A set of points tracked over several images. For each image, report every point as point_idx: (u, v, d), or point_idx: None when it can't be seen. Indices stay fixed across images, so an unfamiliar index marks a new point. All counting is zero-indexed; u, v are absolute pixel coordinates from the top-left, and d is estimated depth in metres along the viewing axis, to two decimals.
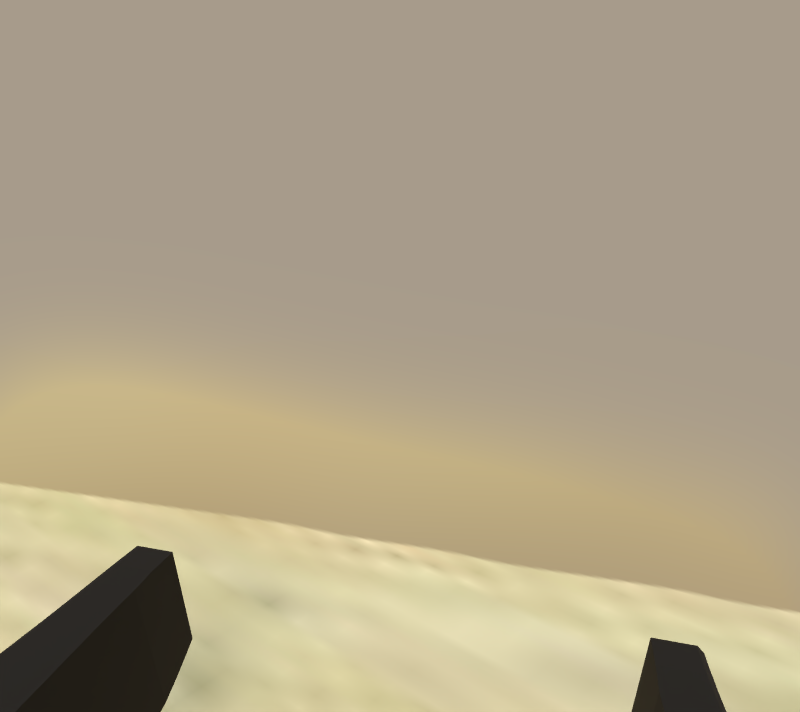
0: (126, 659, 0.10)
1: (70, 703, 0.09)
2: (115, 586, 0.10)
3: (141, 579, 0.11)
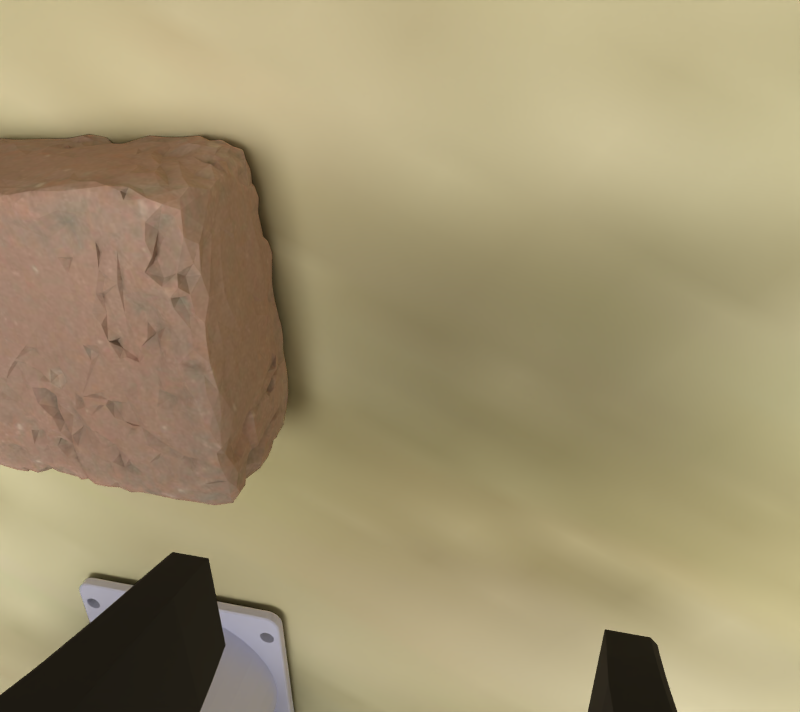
0: (165, 667, 0.10)
1: None
2: (154, 594, 0.10)
3: (179, 586, 0.10)
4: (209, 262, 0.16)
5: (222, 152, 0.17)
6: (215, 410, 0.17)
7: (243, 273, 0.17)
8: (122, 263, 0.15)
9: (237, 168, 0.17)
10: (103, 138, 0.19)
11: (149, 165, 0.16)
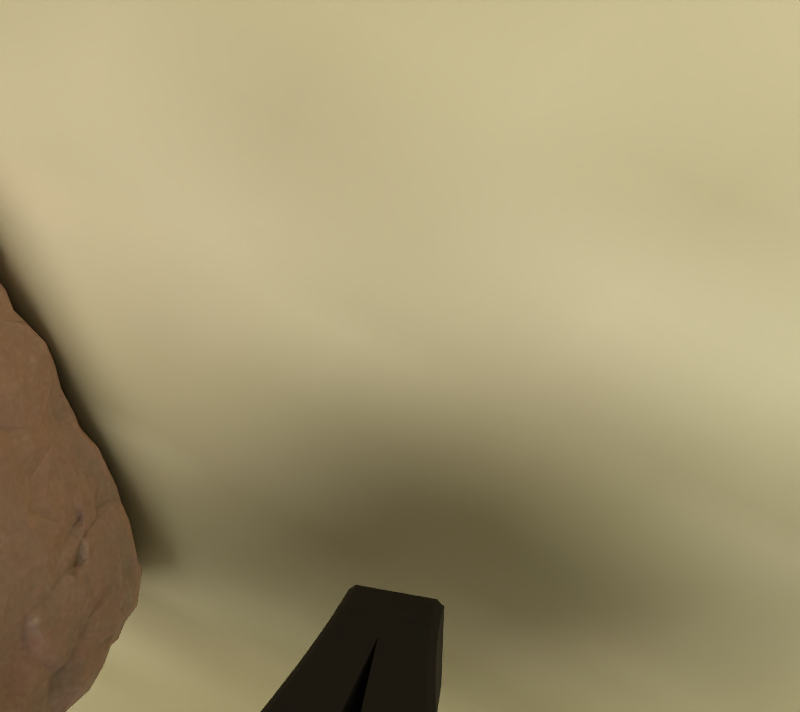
0: None
1: None
2: (356, 632, 0.10)
3: (378, 624, 0.10)
4: None
5: None
6: None
7: None
8: None
9: None
10: None
11: None
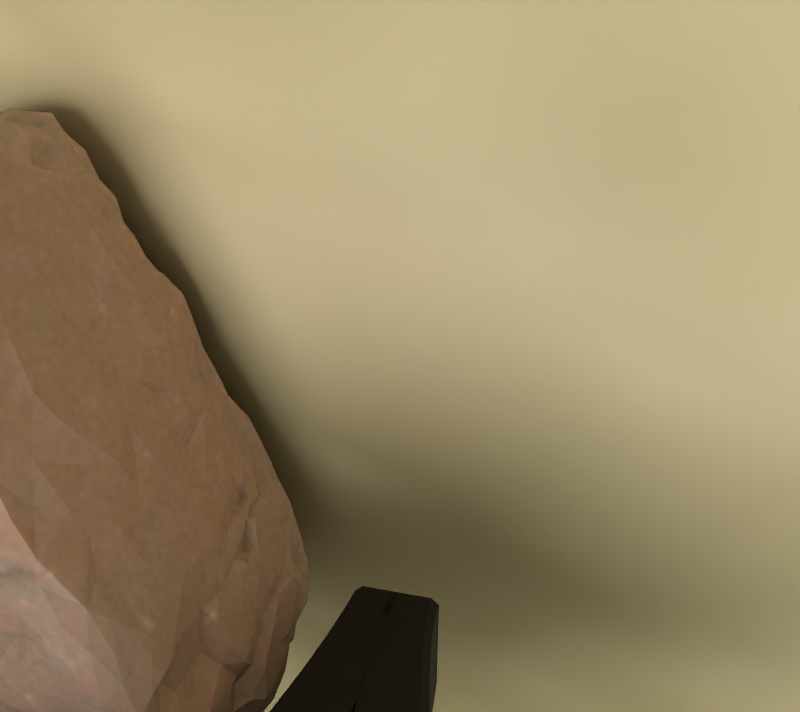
0: None
1: None
2: (362, 634, 0.10)
3: (384, 625, 0.10)
4: None
5: None
6: (93, 648, 0.08)
7: (99, 344, 0.08)
8: None
9: (27, 142, 0.08)
10: None
11: None
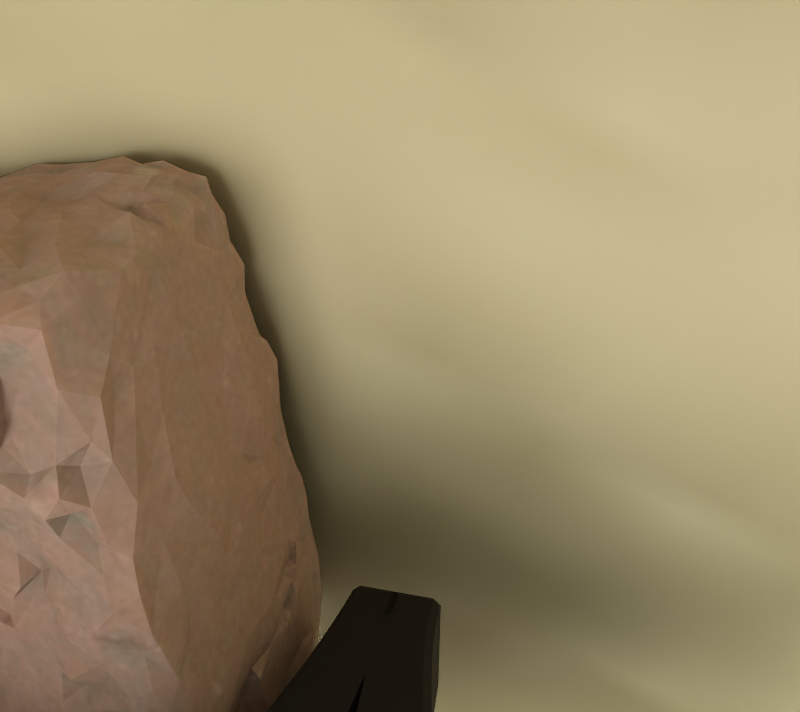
0: None
1: None
2: (360, 633, 0.10)
3: (382, 624, 0.10)
4: (132, 430, 0.07)
5: (161, 185, 0.08)
6: None
7: (220, 419, 0.09)
8: None
9: (191, 215, 0.08)
10: None
11: None
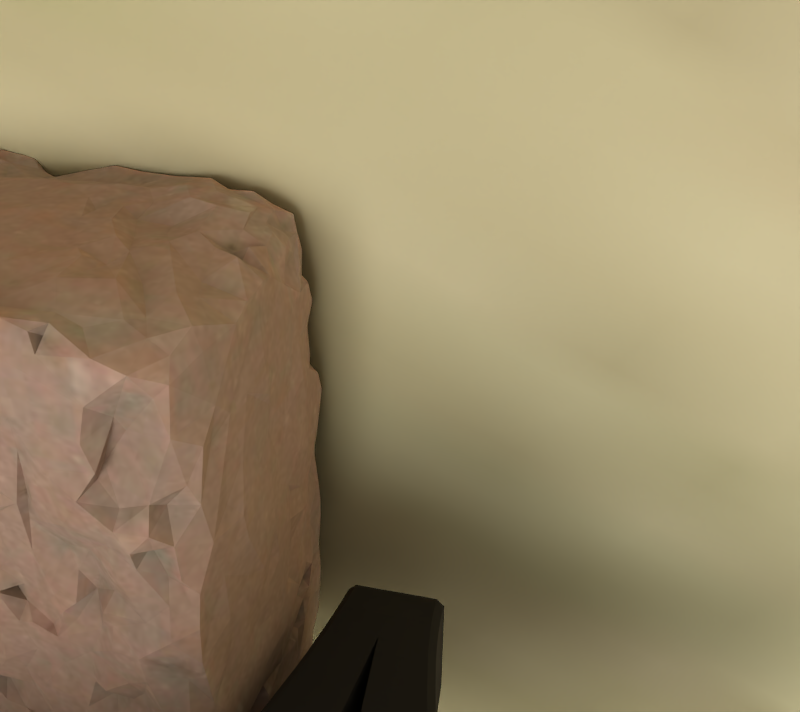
0: None
1: None
2: (356, 632, 0.10)
3: (378, 624, 0.10)
4: (220, 474, 0.07)
5: (257, 223, 0.09)
6: None
7: (279, 455, 0.09)
8: (29, 472, 0.07)
9: (284, 257, 0.09)
10: (27, 160, 0.10)
11: (107, 252, 0.07)
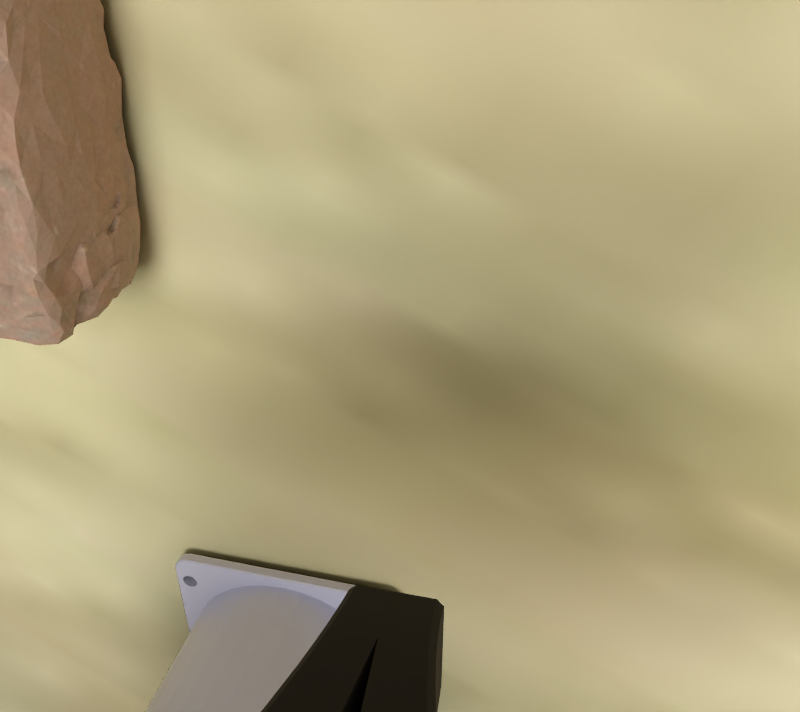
0: None
1: None
2: (355, 632, 0.10)
3: (378, 624, 0.10)
4: (20, 51, 0.14)
5: None
6: (29, 226, 0.15)
7: (75, 84, 0.16)
8: None
9: None
10: None
11: None
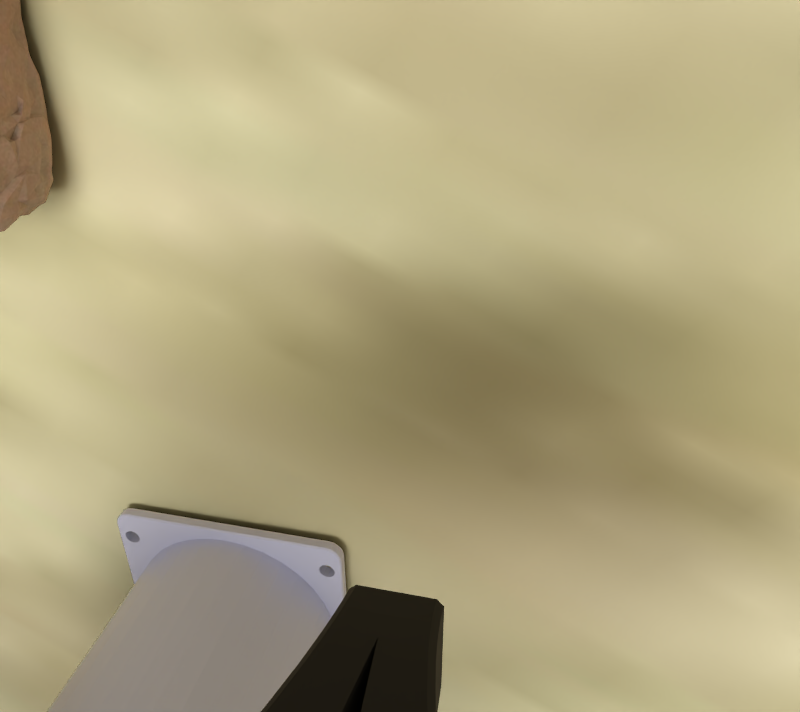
0: None
1: None
2: (356, 633, 0.10)
3: (378, 624, 0.10)
4: None
5: None
6: None
7: None
8: None
9: None
10: None
11: None
